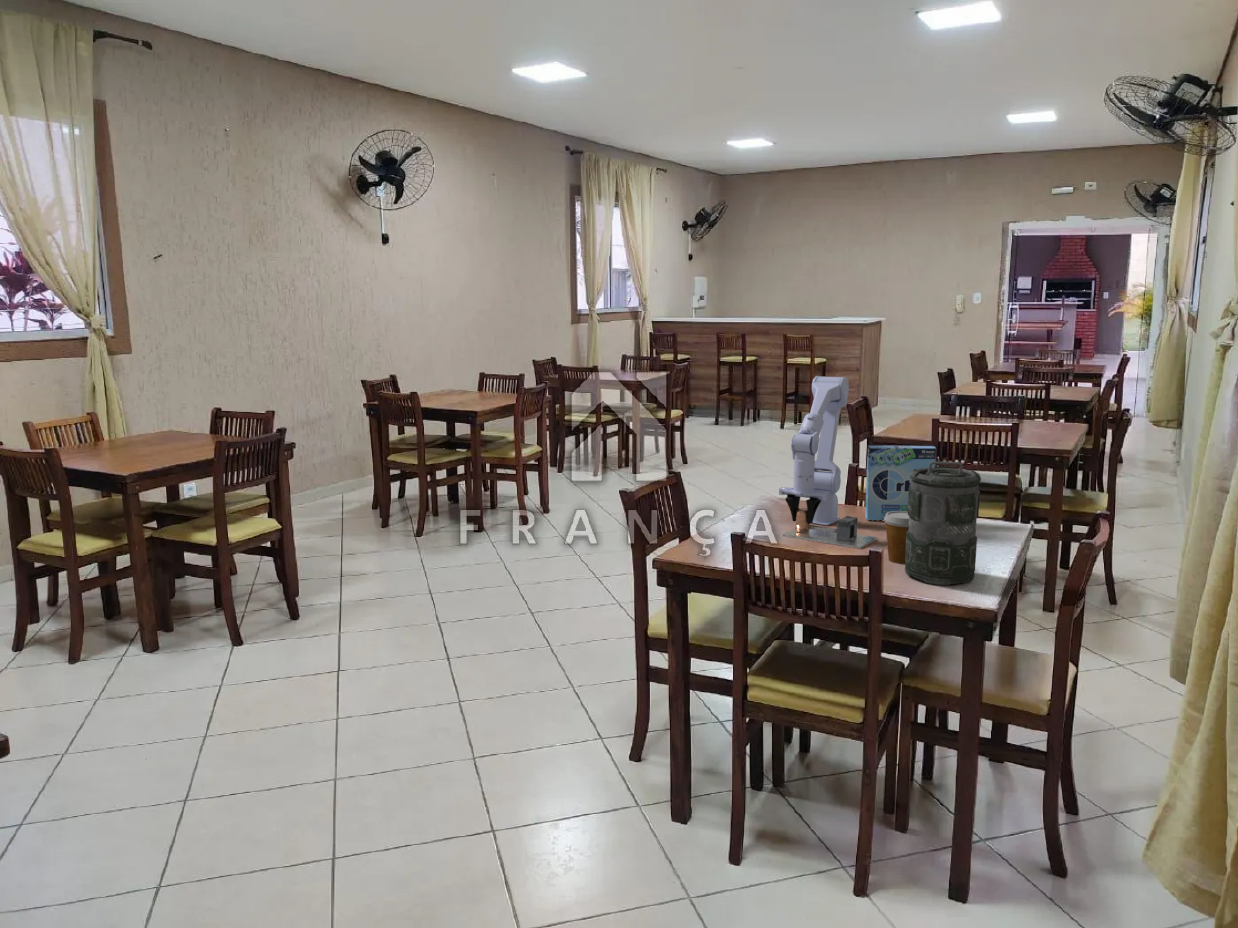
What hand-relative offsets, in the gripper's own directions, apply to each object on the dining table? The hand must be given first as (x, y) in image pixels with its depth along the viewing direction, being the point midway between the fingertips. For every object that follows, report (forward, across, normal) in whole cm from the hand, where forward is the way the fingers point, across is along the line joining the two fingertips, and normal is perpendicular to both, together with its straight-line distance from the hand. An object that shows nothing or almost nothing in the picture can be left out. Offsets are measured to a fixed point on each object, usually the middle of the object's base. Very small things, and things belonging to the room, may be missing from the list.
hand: (802, 521), depth 246 cm
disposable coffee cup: (+4, +32, -10) cm, 34 cm away
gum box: (+4, +17, +32) cm, 36 cm away
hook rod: (+3, +6, 0) cm, 6 cm away
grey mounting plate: (+3, +8, 0) cm, 9 cm away
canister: (+4, +44, -18) cm, 48 cm away
